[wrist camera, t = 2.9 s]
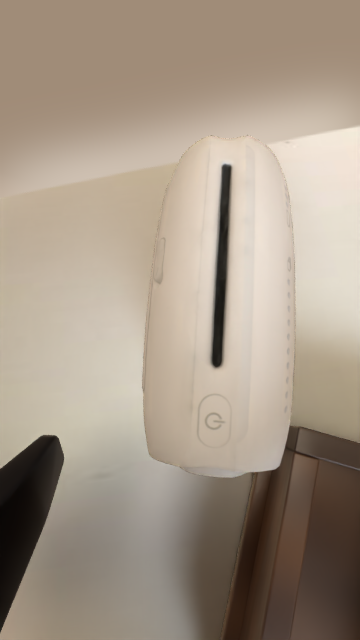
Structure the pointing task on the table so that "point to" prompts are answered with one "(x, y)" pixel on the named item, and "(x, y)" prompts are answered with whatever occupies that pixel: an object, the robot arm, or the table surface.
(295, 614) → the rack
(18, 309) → the table surface
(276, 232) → the photo printer
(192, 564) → the table surface
